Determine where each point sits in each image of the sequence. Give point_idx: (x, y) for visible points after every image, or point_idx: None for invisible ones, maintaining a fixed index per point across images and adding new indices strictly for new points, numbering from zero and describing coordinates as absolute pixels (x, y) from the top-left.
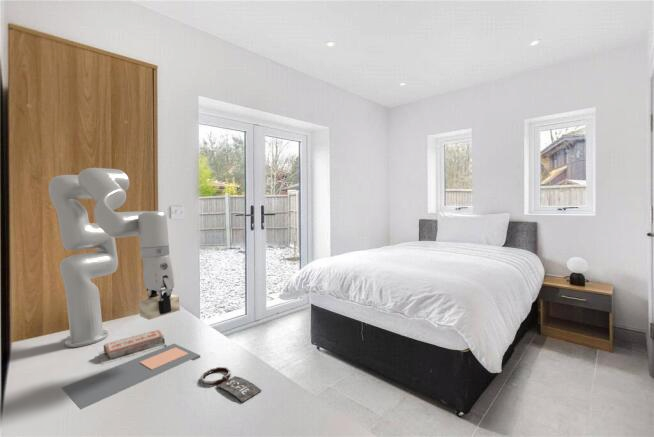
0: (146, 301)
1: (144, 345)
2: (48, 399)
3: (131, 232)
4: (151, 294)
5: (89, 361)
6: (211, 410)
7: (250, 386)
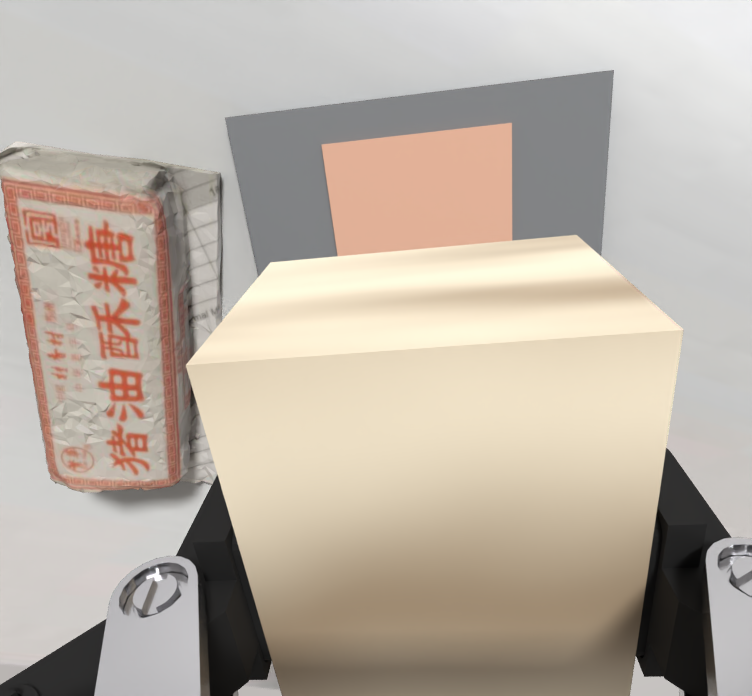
0: None
1: (181, 309)
2: None
3: None
4: (224, 694)
5: (106, 494)
6: None
7: None
